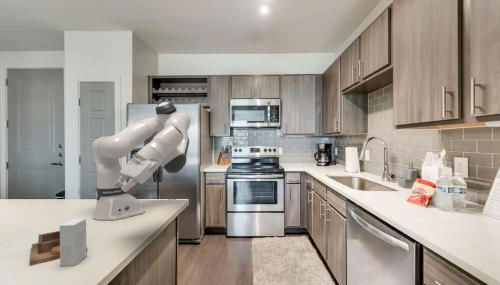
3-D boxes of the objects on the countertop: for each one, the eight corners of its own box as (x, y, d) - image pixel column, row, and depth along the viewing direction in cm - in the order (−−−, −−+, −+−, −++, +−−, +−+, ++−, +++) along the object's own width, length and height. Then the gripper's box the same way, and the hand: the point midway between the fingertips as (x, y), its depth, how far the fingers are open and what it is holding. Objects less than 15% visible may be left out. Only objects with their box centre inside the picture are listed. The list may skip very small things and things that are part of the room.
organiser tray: (81, 237, 92) (81, 226, 92) (87, 251, 80) (87, 238, 80) (31, 247, 83) (31, 235, 83) (29, 265, 71) (29, 251, 71)
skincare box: (72, 256, 76) (72, 218, 76) (86, 256, 77) (86, 218, 77) (59, 266, 70) (59, 225, 70) (74, 266, 71) (74, 224, 71)
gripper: (166, 166, 83) (135, 199, 76) (145, 163, 98) (118, 190, 92) (153, 153, 80) (120, 186, 74) (134, 152, 96) (105, 179, 89)
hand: (119, 188), depth 83 cm, fingers open, 8 cm apart
